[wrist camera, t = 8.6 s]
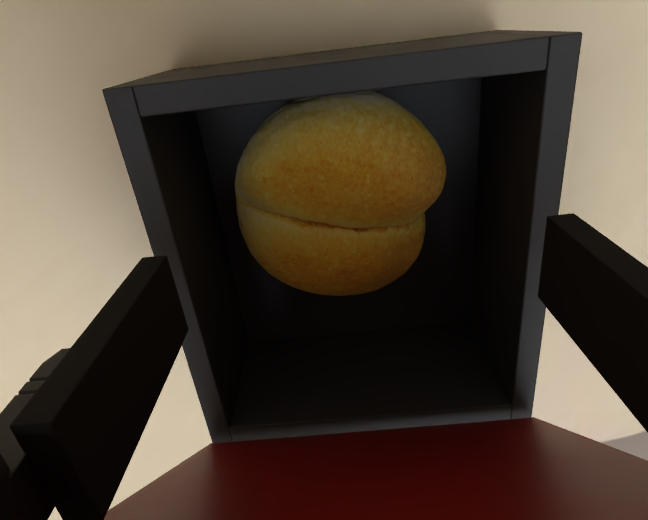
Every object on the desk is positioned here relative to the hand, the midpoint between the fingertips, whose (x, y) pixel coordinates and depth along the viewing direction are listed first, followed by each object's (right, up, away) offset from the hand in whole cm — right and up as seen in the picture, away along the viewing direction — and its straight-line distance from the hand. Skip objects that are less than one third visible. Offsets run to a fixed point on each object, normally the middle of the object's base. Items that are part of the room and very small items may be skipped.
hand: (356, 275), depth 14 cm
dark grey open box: (0, +3, +8) cm, 9 cm away
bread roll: (0, +4, +6) cm, 7 cm away
